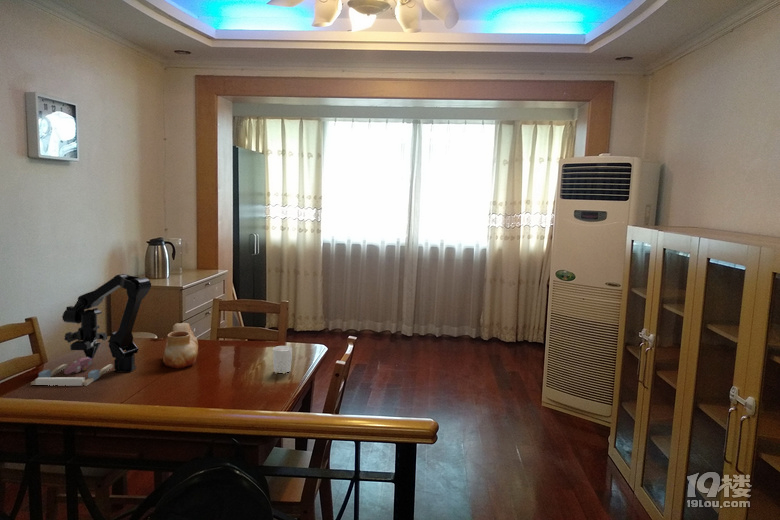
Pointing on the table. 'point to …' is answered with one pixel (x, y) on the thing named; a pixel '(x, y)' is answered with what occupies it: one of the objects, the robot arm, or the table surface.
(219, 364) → the table surface
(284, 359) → the white cup
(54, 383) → the guide channel
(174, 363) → the ceramic vessel
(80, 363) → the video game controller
